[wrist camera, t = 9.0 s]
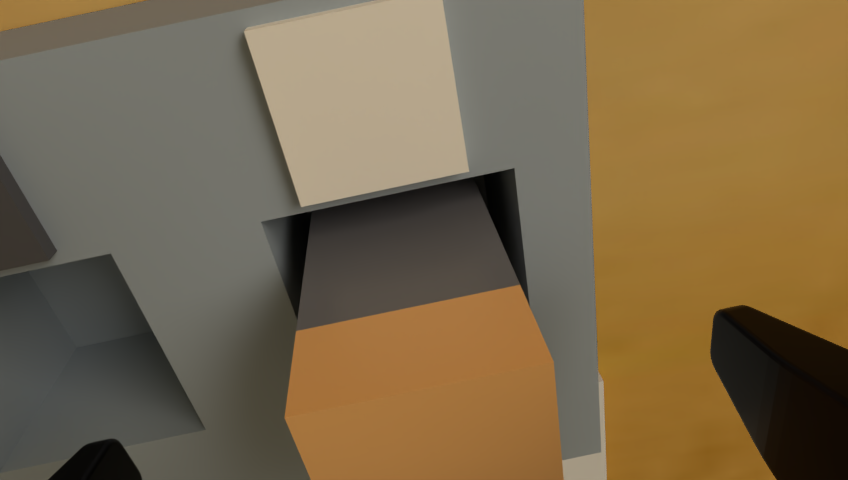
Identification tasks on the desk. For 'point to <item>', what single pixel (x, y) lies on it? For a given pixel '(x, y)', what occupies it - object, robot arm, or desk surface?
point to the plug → (419, 347)
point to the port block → (261, 206)
